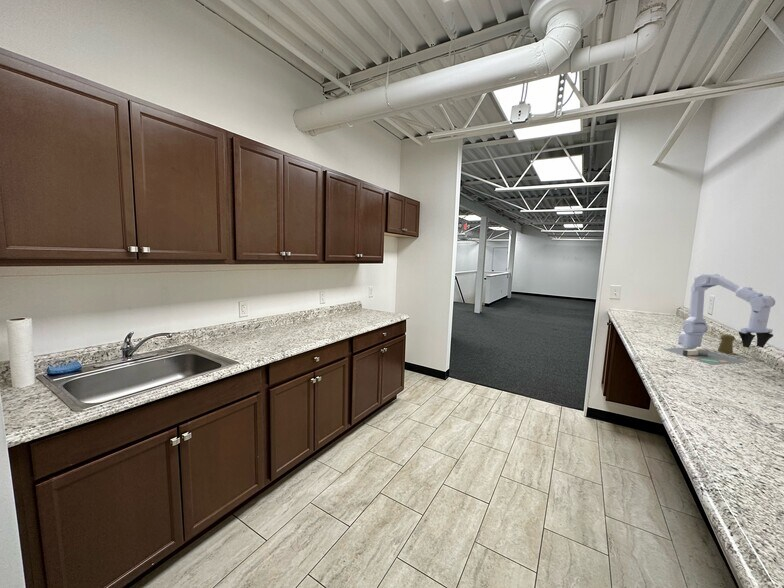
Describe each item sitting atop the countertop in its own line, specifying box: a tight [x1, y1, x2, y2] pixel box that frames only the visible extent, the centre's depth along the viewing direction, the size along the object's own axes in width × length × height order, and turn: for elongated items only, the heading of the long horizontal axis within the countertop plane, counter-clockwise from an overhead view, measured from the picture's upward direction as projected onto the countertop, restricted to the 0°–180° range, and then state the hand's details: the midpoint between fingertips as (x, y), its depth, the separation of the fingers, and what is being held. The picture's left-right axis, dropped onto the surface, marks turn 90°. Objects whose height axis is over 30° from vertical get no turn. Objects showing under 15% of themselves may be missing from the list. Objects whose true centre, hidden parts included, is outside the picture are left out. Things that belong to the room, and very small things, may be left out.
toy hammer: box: [683, 346, 709, 356], centre depth 164 cm, size 14×6×4 cm, turn 100°
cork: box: [717, 333, 736, 354], centre depth 170 cm, size 6×6×11 cm
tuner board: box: [662, 347, 749, 366], centre depth 164 cm, size 24×23×1 cm
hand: (753, 346), depth 151 cm, fingers open, 7 cm apart
